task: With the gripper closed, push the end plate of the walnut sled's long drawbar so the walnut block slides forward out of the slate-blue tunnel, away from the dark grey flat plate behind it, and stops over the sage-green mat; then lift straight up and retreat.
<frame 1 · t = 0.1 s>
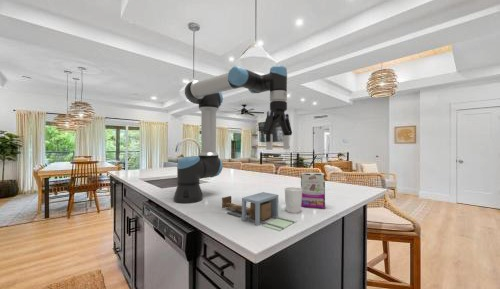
hand: (278, 149, 96), 28 cm above the table, fingers open, 13 cm apart
sled: (244, 205, 94), point 3 cm above the table, slide at 0.0 cm
mat: (279, 223, 82), on the table
white cup: (293, 211, 99), on the table
candy bar box: (312, 207, 105), on the table
tunnel: (260, 218, 88), on the table
dark grey flat plate: (240, 212, 95), on the table
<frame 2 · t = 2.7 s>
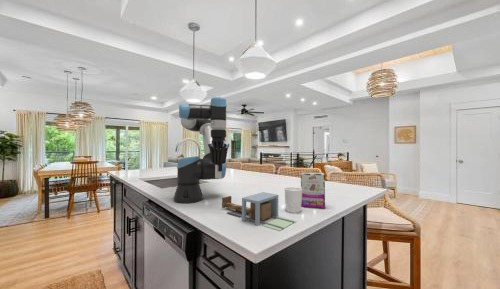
hand: (218, 178, 105), 14 cm above the table, fingers closed
nothing on the table moved.
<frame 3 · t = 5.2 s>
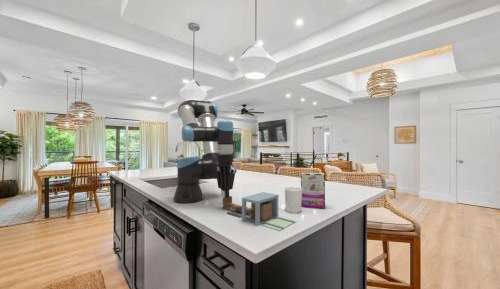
hand: (225, 204, 102), 2 cm above the table, fingers closed
sled: (245, 206, 94), point 3 cm above the table, slide at 0.5 cm, touching gripper
everything else where it was.
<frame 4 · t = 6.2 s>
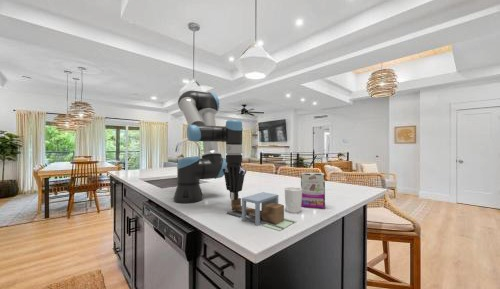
hand: (234, 206, 98), 2 cm above the table, fingers closed
sled: (255, 208, 90), point 3 cm above the table, slide at 6.2 cm, touching gripper
everything else where it was.
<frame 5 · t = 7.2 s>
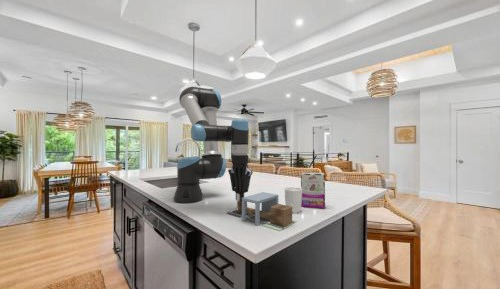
hand: (239, 207, 96), 2 cm above the table, fingers closed
sled: (262, 210, 88), point 3 cm above the table, slide at 9.8 cm, touching gripper
everything else where it was.
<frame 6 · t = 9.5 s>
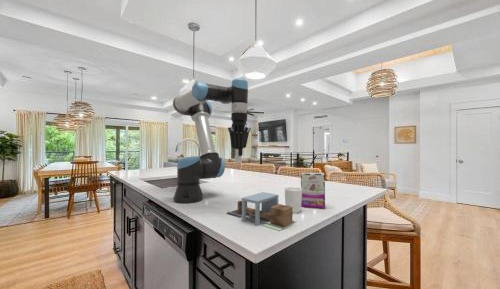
hand: (238, 162, 102), 22 cm above the table, fingers closed
sled: (263, 210, 88), point 3 cm above the table, slide at 9.9 cm
everything else where it was.
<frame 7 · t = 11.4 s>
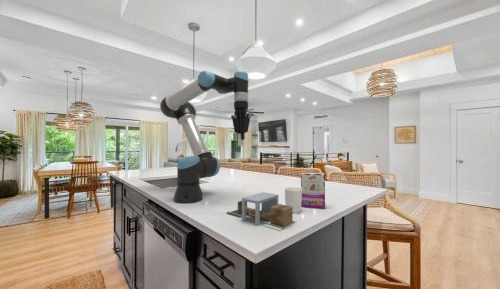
hand: (240, 145, 115), 29 cm above the table, fingers closed
nothing on the table moved.
at the end: sled slide at 9.9 cm; sled inside the target area (0.1 cm from its centre), resting on mat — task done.
